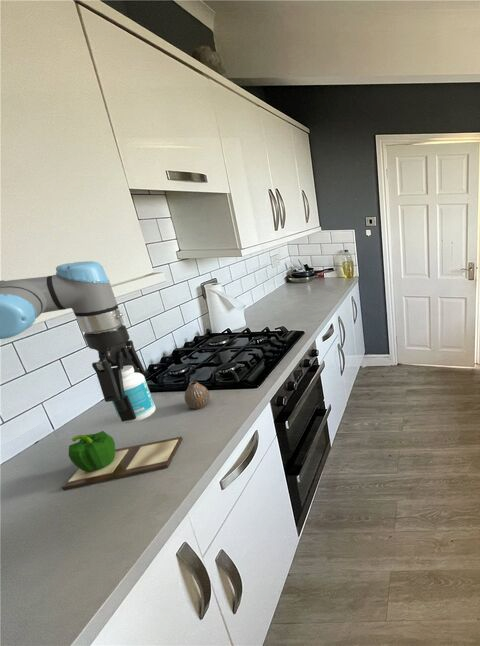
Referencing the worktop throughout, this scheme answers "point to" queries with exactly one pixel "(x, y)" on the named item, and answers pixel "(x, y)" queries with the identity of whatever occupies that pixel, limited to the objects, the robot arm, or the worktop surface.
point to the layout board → (129, 463)
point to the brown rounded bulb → (196, 395)
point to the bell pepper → (92, 451)
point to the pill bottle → (137, 394)
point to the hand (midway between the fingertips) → (136, 410)
